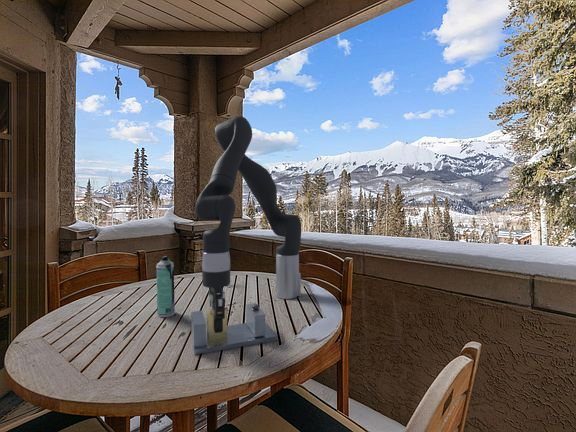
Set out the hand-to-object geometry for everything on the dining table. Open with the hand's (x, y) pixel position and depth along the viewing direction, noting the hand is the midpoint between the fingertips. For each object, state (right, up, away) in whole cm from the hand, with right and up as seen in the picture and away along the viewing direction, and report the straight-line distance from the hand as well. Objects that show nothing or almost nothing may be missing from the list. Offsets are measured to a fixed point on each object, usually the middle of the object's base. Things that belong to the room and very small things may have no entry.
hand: (217, 327), depth 85 cm
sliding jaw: (+10, -2, +4) cm, 11 cm away
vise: (+4, -3, +2) cm, 6 cm away
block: (0, -2, 0) cm, 2 cm away
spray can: (-22, -3, +20) cm, 29 cm away
